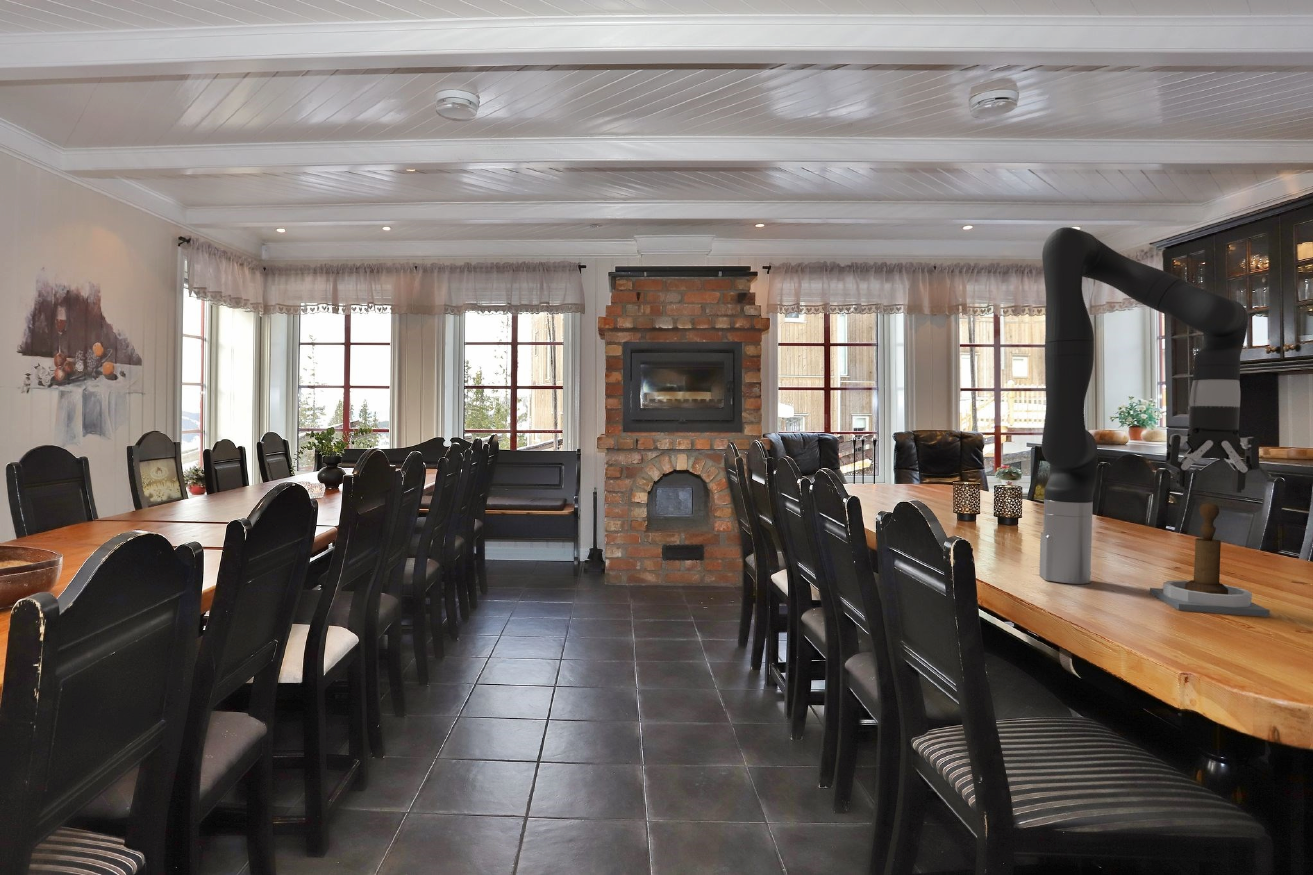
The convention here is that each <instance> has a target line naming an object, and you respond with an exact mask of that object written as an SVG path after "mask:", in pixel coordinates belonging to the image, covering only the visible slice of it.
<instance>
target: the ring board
mask: <svg viewBox="0 0 1313 875" xmlns="http://www.w3.org/2000/svg"><path fill="white" fill-rule="evenodd" d="M1189 581H1190V580H1183V579H1181V580H1178V579H1177V580H1167V581H1165V582H1163V584H1162V585H1163V588H1160V587H1158V588H1157V587H1149V594H1150V595H1151V596H1153V597H1154V598H1156V599H1157V600H1160V601H1162V603H1165V604H1167V605H1168V606H1170V607H1171V608H1174V609H1176V610H1177V611H1182V612H1183V611H1184V612H1196V613H1209V614H1210V613H1211V614H1221V615H1222V614H1223V615H1237V616H1238V615H1239V616H1249V617H1250V616H1251V617H1252V616H1253V617H1265V618H1270V616H1271V615H1270V613H1271V610H1270V609H1268V608H1265V607H1263V606H1261V605H1258V604H1257V603H1254V602H1252V598H1253V597H1252V596H1253V595H1252V594H1253V593H1252V591H1249V590H1247V589H1244V588H1241V587H1236V586H1232V585H1227V584H1223V583H1222V584H1223V585H1224V586H1225V587H1226V588H1228V595H1226V594H1211V593H1204V592H1197V591H1190V590H1186V589H1185V583H1187V582H1189Z"/></svg>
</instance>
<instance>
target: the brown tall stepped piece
mask: <svg viewBox="0 0 1313 875" xmlns="http://www.w3.org/2000/svg"><path fill="white" fill-rule="evenodd" d="M1198 509H1199V510H1198V512H1199V515H1200V516H1201V518H1202V520H1203V524H1202V525H1201V526H1200V531H1201V535H1202V537H1200V538H1195V539H1194V564H1193V565H1194V567H1193V579H1191V580H1188V581H1189V582H1187V583H1185V589H1186V590H1190V591H1197V592H1204V593H1211V594H1226V595H1228V588H1226V587H1225V586H1224V585H1225V584H1224V585H1223V583H1221V582H1220V572H1221V570H1220V569H1221V568H1220V567H1221V548H1222V541H1221V540H1220V539H1215V538H1214V536H1215V534H1216V530H1217V528H1216V527H1215V526H1214V522H1215V520H1216V518H1218V516H1219V514H1220V508H1219V506H1218V505H1217V504H1216V503H1214V502H1213V503H1212V502H1205V503H1202V504H1201V505H1200V506H1199V508H1198Z"/></svg>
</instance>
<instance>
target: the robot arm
mask: <svg viewBox="0 0 1313 875" xmlns="http://www.w3.org/2000/svg"><path fill="white" fill-rule="evenodd" d="M1041 254H1042V255H1041V256H1042V257H1041V259H1042V268H1043V279H1044V287H1045V289H1044V290H1045V335H1044V336H1045V338H1044V368H1045V370H1044V371H1045V372H1044V375H1045V378H1044V379H1045V380H1044V381H1045V385H1044V386H1045V400H1046V402H1045V416H1044V421H1043V422H1044V423H1043V431H1042V439H1041V452H1042V455H1043V457H1044V460H1045V461H1046V462H1047V463H1048V464H1049V474H1048V478H1047V483H1046V484H1045V486H1044V491H1043V492H1044V494H1043V527H1042V528H1043V529H1042V530H1043V531H1042V532H1041V533H1040V536H1039V538H1040V540H1039V541H1040V543H1039V544H1040V545H1039V548H1040V549H1039V570H1038V571H1039V576H1040V577H1041V578H1042V579H1043V580H1045V581H1048V582H1049V581H1050V582H1055V583H1056V582H1057V583H1063V584H1064V583H1065V584H1076V585H1078V584H1079V585H1084V584H1089V583H1091V576H1092V575H1091V574H1092V541H1093V539H1092V537H1093V534H1092V533H1093V507H1094V506H1093V505H1094V504H1093V501H1094V492H1095V489H1096V484H1097V473H1098V472H1097V468H1098V444H1097V441H1096V439H1095V436H1094V435H1093V434H1092V433H1091V432H1090V431H1088V430H1087V429H1086V420H1085V405H1086V404H1085V403H1086V402H1085V401H1086V396H1087V392H1088V389H1089V385H1090V382H1091V378H1092V373H1093V371H1094V370H1093V368H1094V362H1095V334H1094V333H1095V332H1094V327H1093V324H1092V322H1091V317H1090V315H1089V311H1088V309H1087V306H1086V305H1087V304H1086V303H1085V299H1084V295H1083V294H1084V293H1083V277H1084V278H1087V279H1090V280H1095V281H1099V282H1100V283H1103V284H1106V285H1108V286H1110V287H1112V288H1114V289H1116V290H1118V291H1120V292H1121V293H1122V294H1124V295H1125V296H1127V297H1129V298H1131V299H1133V300H1135V301H1136V302H1138V303H1140V304H1141V305H1144V306H1146V307H1148V308H1151V309H1152V310H1155V311H1157V312H1160V313H1161V314H1164V315H1167V316H1170V317H1172V318H1173V319H1175V320H1177V321H1179V322H1181V323H1182V324H1184V325H1186V326H1188V327H1190V328H1192V329H1194V330H1196V331H1198V332H1200V333H1203V334H1202V341H1201V349H1200V350H1199V351H1197V352H1196V354H1195V356H1194V359H1193V372H1192V385H1191V390H1190V397H1189V400H1188V401H1189V402H1188V403H1189V416H1188V433H1187V435H1186V436H1185V435H1180V434H1169V435H1168V438H1167V446H1166V454H1165V455H1166V456H1165V464H1166V465H1167V466H1170V467H1172V468H1175V469H1176V480H1175V481H1176V482H1175V484H1176V486H1177V487H1179V490H1182V491H1188V490H1189V481H1190V470H1188V469H1189V468H1190V467H1191V466H1192V465H1193V464H1194V463H1196V462H1198V460H1199V459H1206V460H1207V459H1208V460H1210V459H1216V460H1224V461H1225V462H1226V463H1228V464H1229V466H1230V467H1231V468H1232V469H1233V470H1234V472H1233V471H1232V475H1231V493H1235V494H1241V493H1242V491H1244V490H1245V488H1246V477H1247V476H1246V475H1247V473H1248V472H1250V471H1253V470H1259V468H1260V439H1259V438H1258V437H1254V436H1247V437H1240V436H1239V429H1240V427H1239V426H1240V413H1241V412H1240V411H1241V410H1240V408H1241V387H1240V385H1241V384H1240V380H1241V378H1240V377H1241V355H1242V351H1243V349H1244V346H1245V345H1244V344H1245V340H1246V336H1247V331H1248V328H1249V327H1248V326H1249V325H1248V324H1249V323H1248V322H1249V316H1248V310H1247V309H1246V308H1245V306H1244V305H1243V304H1242V303H1241V302H1239V301H1237V300H1233V299H1231V298H1228V297H1225V296H1222V295H1221V294H1220V295H1219V294H1217V293H1215V292H1212V291H1209V290H1206V289H1204V288H1200V287H1197V286H1195V284H1193V283H1191V282H1190V281H1188V280H1186V279H1183V278H1181V277H1180V276H1177V275H1174V274H1172V273H1169V272H1166V271H1165V270H1161V269H1159V268H1157V267H1154V266H1150V265H1148V264H1145V263H1141V262H1139V261H1136V260H1133V259H1131V258H1129V257H1127V256H1125V255H1123V254H1121V253H1119V252H1117V251H1115V249H1112V248H1111V247H1109V246H1108V245H1106V244H1105V243H1104V242H1102V241H1100V240H1099V239H1097V238H1096V237H1095V235H1093V234H1091V233H1089V232H1086V231H1084V230H1080V229H1077V228H1074V227H1067V226H1066V227H1060V228H1058V229H1055V230H1054V231H1052V232H1051V233H1050V234H1049V236H1048V237H1047V238H1046V240H1045V242H1044V244H1043V248H1042V252H1041ZM1184 443H1185V444H1187V446H1188V447H1189V450H1187V451H1186V452H1185V454H1183V456H1182V458H1181V459H1180V460H1179V457H1180V456H1179V455H1180V448H1181V447H1183V446H1184ZM1240 445H1241V448H1243V449H1244V462H1243V460H1242V458H1241V456H1239V454H1238V453H1237V452H1236V449H1237V448H1238V446H1240Z"/></svg>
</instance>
